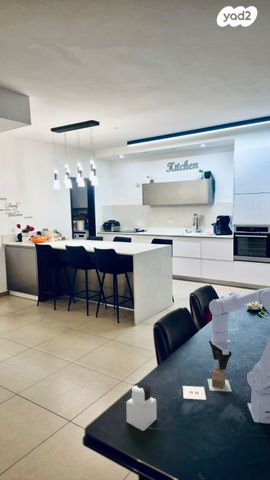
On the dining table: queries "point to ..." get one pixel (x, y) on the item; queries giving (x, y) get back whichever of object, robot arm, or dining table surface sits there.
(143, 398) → the medicine bottle
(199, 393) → the white tile
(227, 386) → the sage mat
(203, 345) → the dining table surface
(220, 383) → the walnut block
